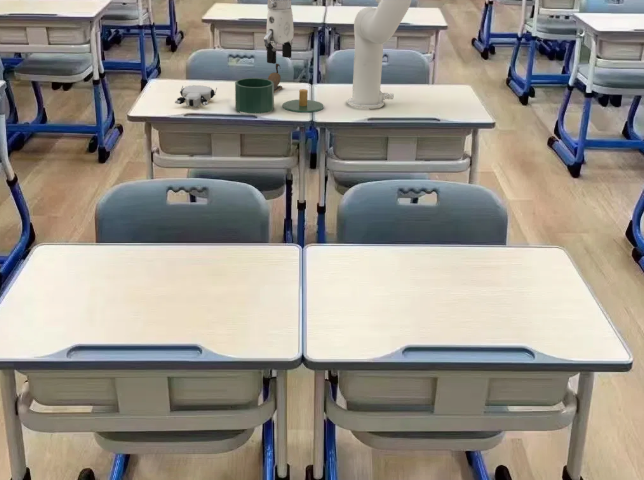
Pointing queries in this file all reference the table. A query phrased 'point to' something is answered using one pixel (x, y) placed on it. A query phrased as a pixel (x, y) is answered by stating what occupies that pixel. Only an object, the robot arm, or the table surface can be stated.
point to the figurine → (275, 79)
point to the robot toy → (196, 95)
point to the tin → (254, 95)
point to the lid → (303, 104)
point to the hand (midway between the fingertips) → (279, 60)
